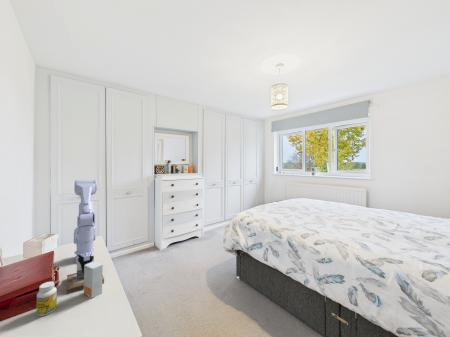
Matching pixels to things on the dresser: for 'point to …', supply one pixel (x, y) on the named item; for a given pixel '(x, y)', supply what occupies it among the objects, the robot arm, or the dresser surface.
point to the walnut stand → (76, 283)
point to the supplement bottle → (46, 299)
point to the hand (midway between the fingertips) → (85, 270)
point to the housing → (80, 270)
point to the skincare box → (93, 279)
